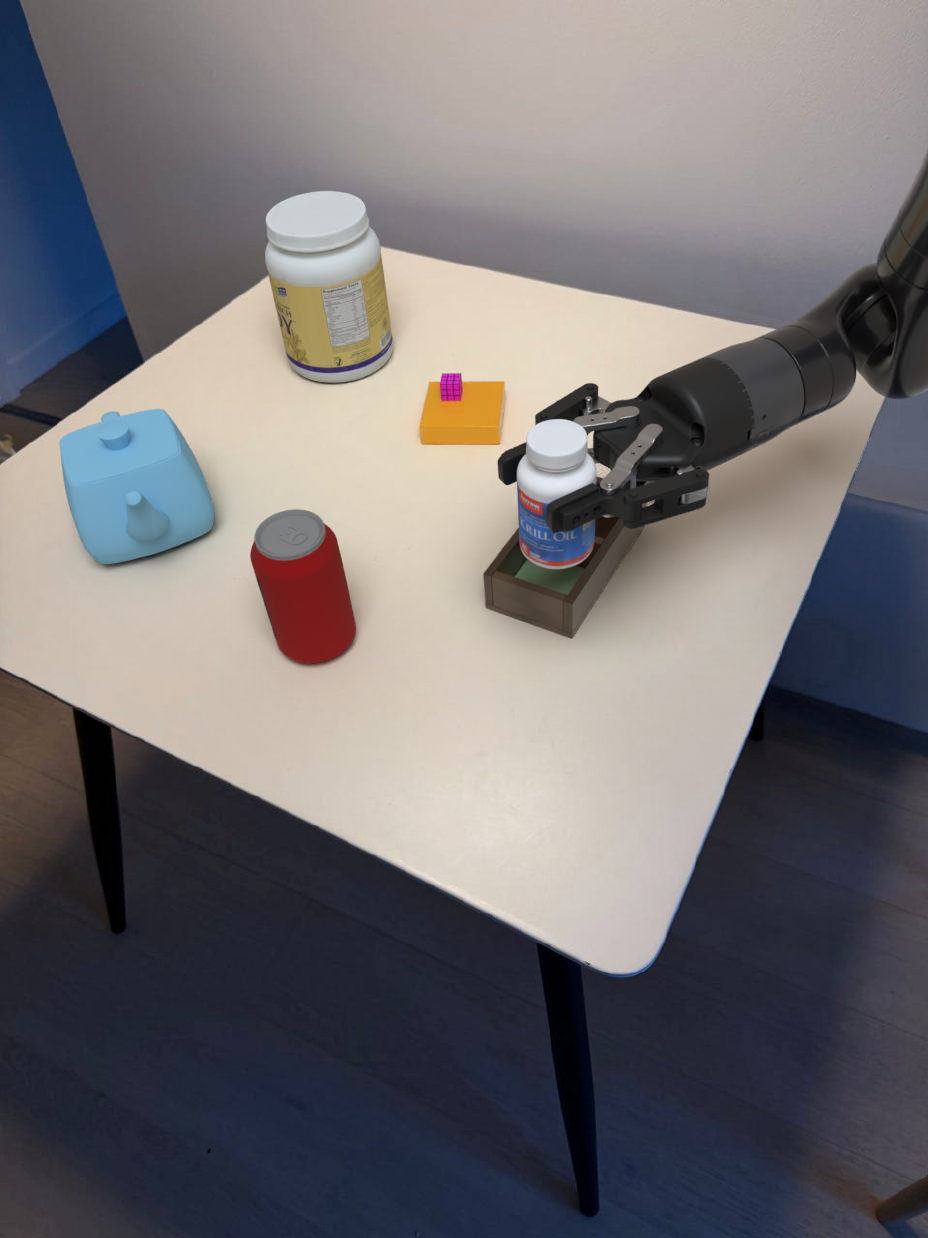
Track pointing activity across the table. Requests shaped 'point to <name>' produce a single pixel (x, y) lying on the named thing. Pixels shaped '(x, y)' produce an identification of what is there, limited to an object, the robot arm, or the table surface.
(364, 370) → the supplement tub
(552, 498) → the pill bottle
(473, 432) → the flat orange square base
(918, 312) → the robot arm
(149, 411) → the teapot
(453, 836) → the table surface
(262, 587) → the beverage can
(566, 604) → the wooden compartment box
